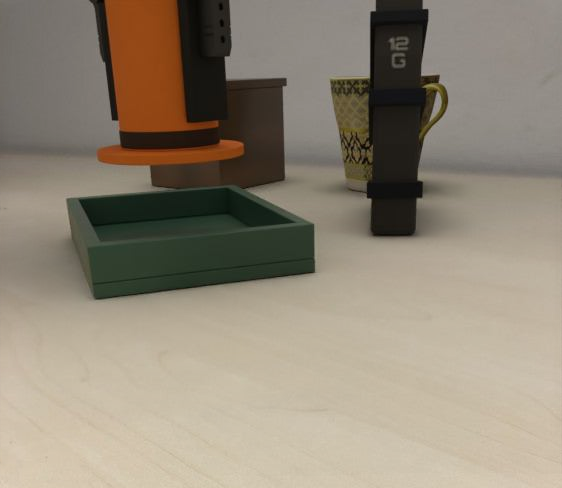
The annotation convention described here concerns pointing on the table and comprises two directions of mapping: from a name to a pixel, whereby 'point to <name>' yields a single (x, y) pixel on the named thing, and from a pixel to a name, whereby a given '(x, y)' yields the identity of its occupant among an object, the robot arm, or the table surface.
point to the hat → (155, 91)
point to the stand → (243, 128)
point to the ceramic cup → (355, 122)
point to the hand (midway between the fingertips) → (168, 119)
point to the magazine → (396, 113)
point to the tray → (185, 239)
